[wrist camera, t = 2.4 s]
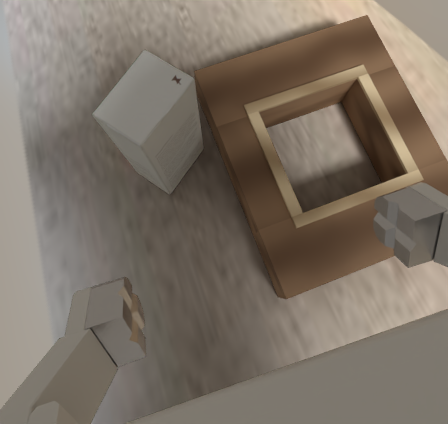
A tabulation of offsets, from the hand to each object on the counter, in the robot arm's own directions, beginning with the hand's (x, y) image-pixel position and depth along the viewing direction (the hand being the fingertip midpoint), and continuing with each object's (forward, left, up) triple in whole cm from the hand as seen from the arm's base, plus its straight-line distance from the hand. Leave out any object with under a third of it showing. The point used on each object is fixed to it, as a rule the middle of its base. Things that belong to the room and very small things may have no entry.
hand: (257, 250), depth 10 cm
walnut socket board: (+7, -12, -21) cm, 25 cm away
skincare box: (+12, +2, -21) cm, 25 cm away
